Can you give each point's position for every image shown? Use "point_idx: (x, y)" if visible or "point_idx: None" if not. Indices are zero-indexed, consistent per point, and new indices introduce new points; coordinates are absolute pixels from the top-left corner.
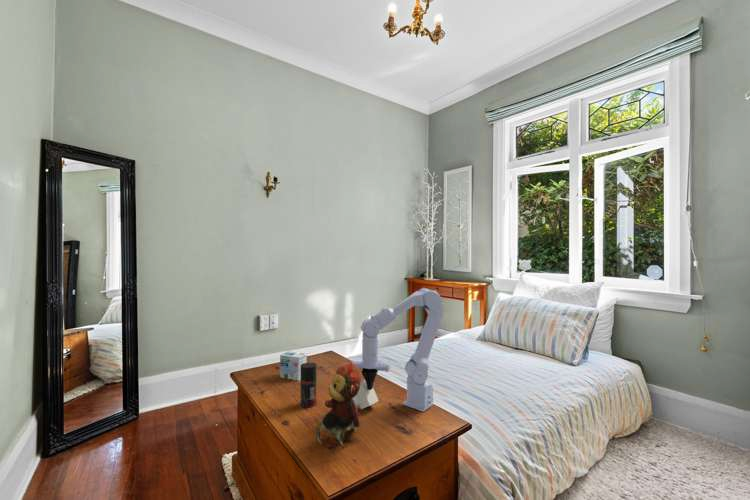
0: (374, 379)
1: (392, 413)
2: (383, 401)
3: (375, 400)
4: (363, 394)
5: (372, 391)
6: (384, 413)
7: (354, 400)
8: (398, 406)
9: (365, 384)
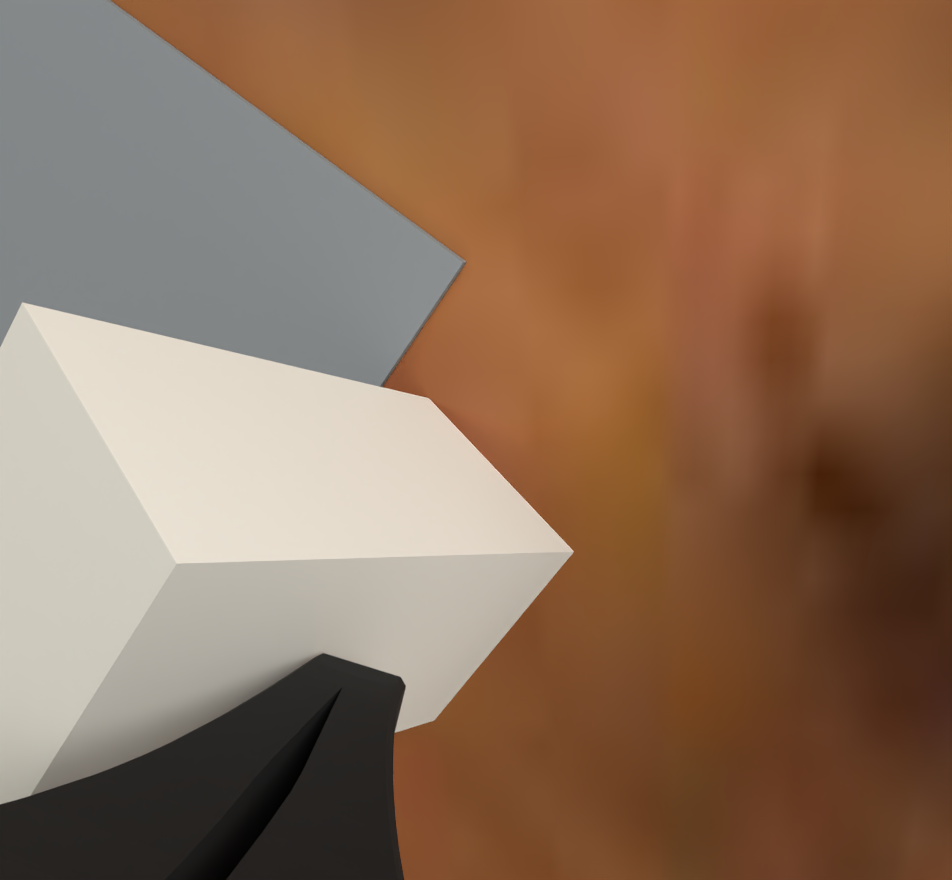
0: (392, 818)
1: (802, 680)
2: (658, 253)
3: (513, 608)
4: None
5: (419, 605)
6: (673, 677)
7: (152, 290)
8: (935, 445)
9: (186, 726)
